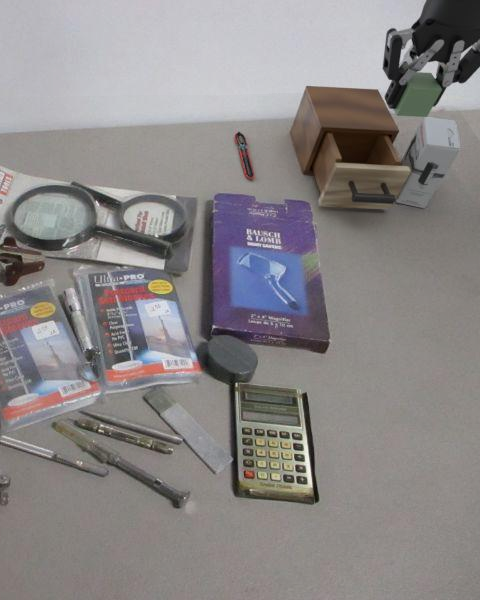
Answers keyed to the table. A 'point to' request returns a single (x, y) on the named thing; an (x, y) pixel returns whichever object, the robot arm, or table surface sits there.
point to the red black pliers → (244, 155)
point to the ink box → (428, 160)
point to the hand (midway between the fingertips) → (408, 106)
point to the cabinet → (337, 118)
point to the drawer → (358, 170)
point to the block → (419, 96)
